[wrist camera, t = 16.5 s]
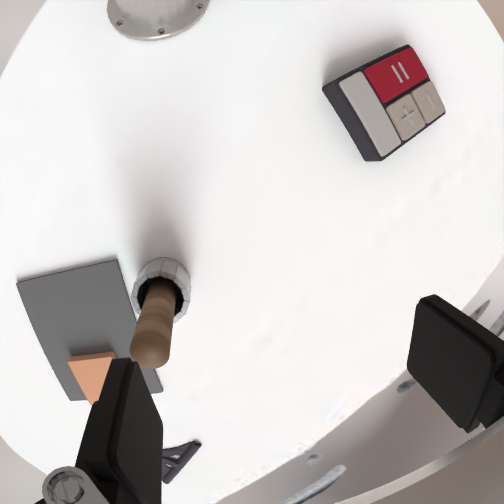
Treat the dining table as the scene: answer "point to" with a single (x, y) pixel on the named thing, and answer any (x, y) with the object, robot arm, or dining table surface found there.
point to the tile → (91, 372)
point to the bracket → (176, 460)
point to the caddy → (167, 270)
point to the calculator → (385, 102)
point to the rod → (155, 325)
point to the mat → (82, 319)
